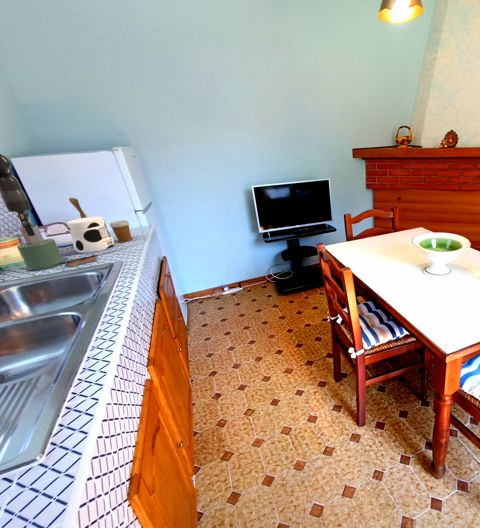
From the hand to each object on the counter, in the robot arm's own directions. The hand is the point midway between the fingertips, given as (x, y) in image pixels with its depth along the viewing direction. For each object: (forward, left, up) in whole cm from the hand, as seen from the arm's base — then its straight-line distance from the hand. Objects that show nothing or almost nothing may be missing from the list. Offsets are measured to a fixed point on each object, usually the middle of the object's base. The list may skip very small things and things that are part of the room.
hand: (32, 234), depth 143 cm
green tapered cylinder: (0, 0, -16) cm, 16 cm away
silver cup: (0, 0, -4) cm, 4 cm away
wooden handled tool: (+22, +32, -17) cm, 42 cm away
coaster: (+13, -8, -16) cm, 22 cm away
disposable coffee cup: (+36, +18, -17) cm, 43 cm away
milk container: (+21, +8, -17) cm, 28 cm away
